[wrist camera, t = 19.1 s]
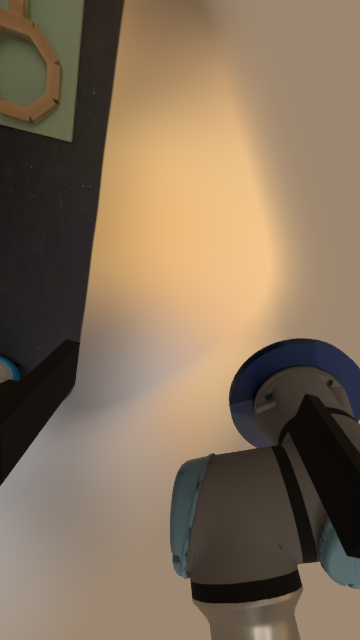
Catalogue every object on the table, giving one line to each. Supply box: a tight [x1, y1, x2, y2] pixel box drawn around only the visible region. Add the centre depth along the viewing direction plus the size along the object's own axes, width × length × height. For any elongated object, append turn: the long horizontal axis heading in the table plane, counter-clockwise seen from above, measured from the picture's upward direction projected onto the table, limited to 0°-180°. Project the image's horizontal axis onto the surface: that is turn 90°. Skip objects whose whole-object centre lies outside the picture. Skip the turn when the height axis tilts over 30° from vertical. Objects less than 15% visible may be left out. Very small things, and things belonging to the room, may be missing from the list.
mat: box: [0, 0, 85, 143], centre depth 31 cm, size 22×12×1 cm, turn 167°
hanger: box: [0, 0, 63, 124], centre depth 29 cm, size 21×12×1 cm, turn 166°
